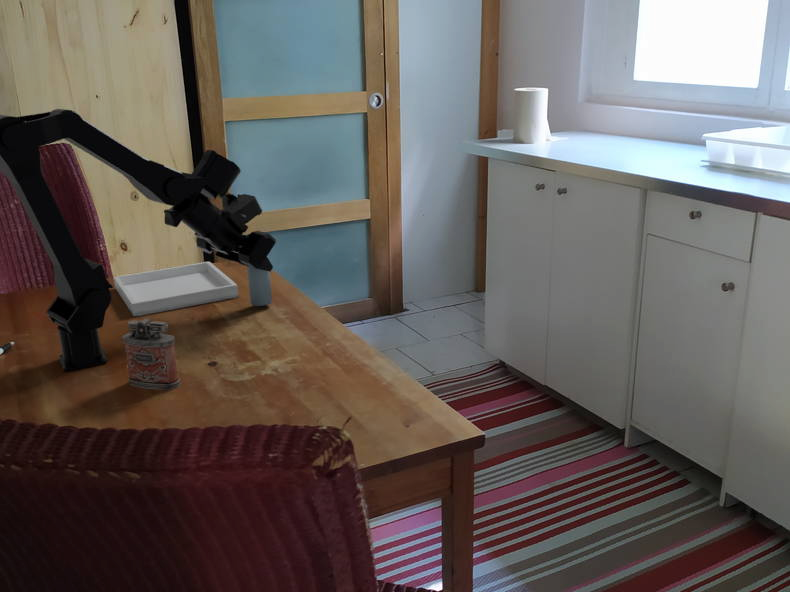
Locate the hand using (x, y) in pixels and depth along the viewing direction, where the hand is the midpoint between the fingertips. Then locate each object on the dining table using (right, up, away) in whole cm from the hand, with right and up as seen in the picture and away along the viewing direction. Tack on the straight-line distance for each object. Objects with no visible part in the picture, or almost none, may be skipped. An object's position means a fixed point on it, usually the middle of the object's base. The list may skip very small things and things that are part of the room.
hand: (264, 267), depth 142 cm
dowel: (-1, -7, +1) cm, 7 cm away
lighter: (-11, -19, -30) cm, 37 cm away
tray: (-20, -5, +11) cm, 23 cm away
